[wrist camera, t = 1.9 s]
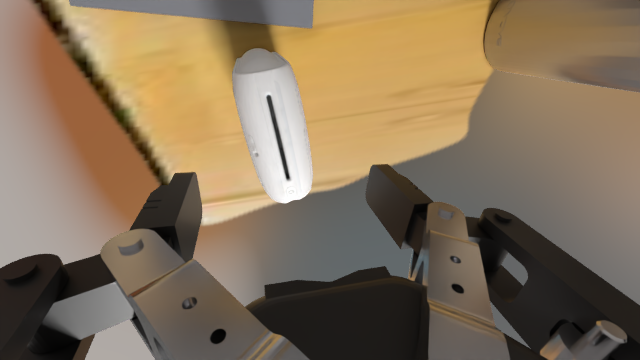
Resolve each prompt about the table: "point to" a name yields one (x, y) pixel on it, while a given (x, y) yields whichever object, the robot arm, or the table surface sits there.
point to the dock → (218, 9)
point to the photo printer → (273, 123)
